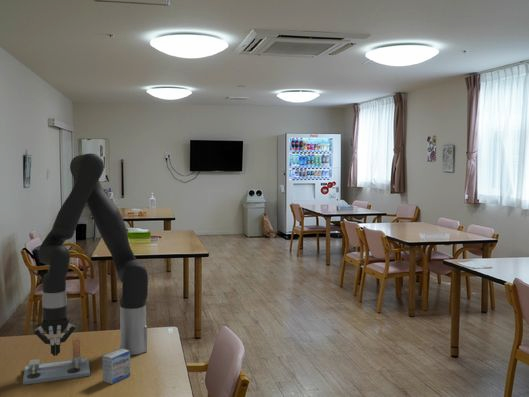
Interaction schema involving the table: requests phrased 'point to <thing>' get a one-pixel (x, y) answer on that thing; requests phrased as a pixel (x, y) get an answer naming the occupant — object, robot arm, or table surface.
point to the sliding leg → (76, 351)
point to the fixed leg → (34, 365)
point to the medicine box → (116, 366)
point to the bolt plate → (56, 371)
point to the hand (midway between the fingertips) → (55, 354)
